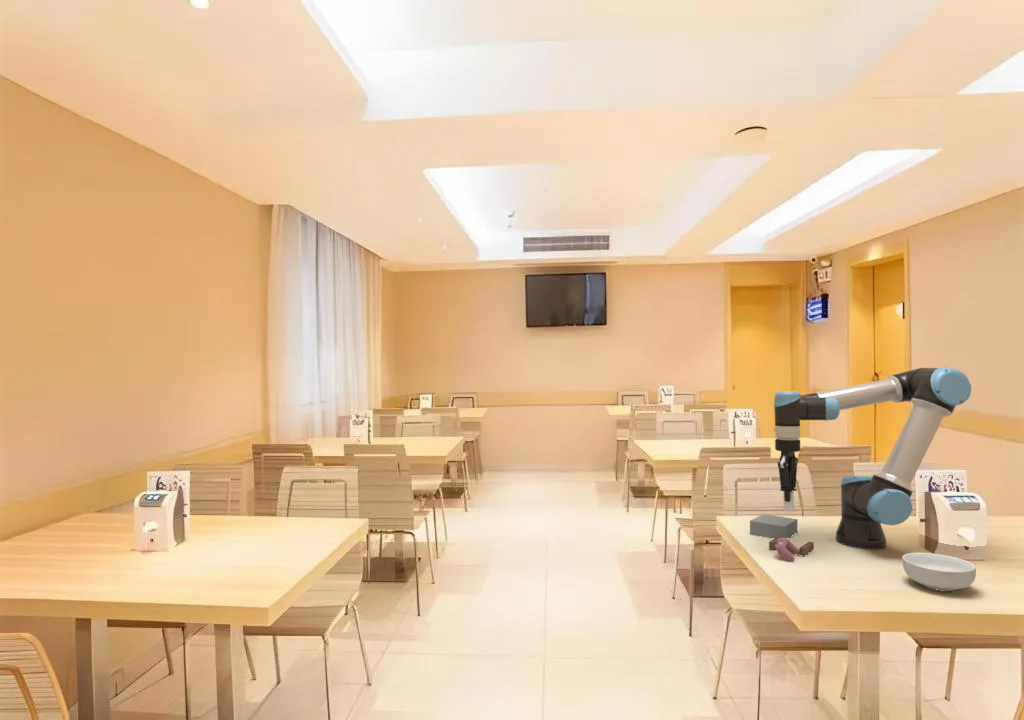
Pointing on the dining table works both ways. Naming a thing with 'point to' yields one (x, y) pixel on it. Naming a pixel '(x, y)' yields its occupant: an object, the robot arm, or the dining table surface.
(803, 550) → the walnut guide rails
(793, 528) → the charcoal stand
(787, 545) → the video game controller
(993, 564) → the dining table surface
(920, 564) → the cereal bowl
